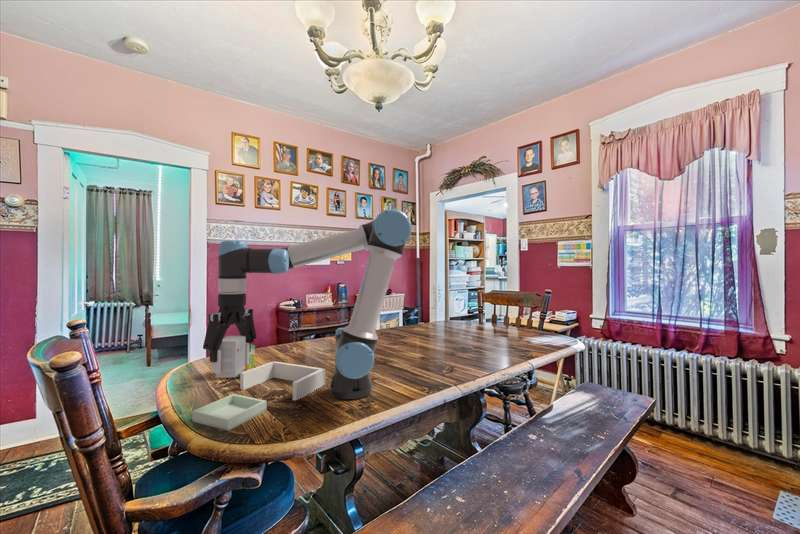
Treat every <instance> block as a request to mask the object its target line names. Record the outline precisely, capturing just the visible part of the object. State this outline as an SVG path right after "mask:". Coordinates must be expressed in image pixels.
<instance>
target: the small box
mask: <svg viewBox="0 0 800 534" xmlns="http://www.w3.org/2000/svg"><path fill="white" fill-rule="evenodd" d="M218 350H221V373H220V374H216V373H215V378H218V379H219V378H237V377H236V376H237V375H238V374H239V373H241V372H242V371H243V370H244V369H245V358H246V336H241V335H227V336H224V338H223V340H222V342H221V345H220V347H219V349H218Z"/></svg>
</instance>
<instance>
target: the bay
mask: <svg viewBox="0 0 800 534" xmlns="http://www.w3.org/2000/svg"><path fill="white" fill-rule="evenodd" d="M273 378H276V379H280V380H286V381H292V401H294V400H295V401H294V402H297V401H299V400H300V398H301V399H302V398H304V397H306V396H308V395H309V393H310V394H312V393H313V392H315V391H317V390H318V388H319V389H320V388H322V387H324V386H326V368H321V367H314V366H308V365H301V364H294V363H290V362H289V363H288V362H280V361H275V360H274V361H270V362H267V363H265V364H262V365H259V366H256V367H255V368H253V369H250V370H247V371H244V372H242V373H240V378H239V380H240V381H239V386H240V387H239V390H240V389H241V391H245V390H248V389H250V388H252V387H254V385H255V386H257V385H259V384H261V383H264V382H266V381H268V380H271V379H273ZM323 385H324V386H323ZM316 389H317V390H316ZM314 390H315V391H314ZM307 394H308V395H307ZM298 399H299V400H298ZM296 400H297V401H296Z"/></svg>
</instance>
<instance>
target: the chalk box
mask: <svg viewBox="0 0 800 534" xmlns="http://www.w3.org/2000/svg"><path fill="white" fill-rule="evenodd" d="M255 361H256V345H255V344H251V351H250V352H249V364H245V369H244V370H243V371H242V372H244V371H247V370H250V369H253V368H256V367H255V366H256V362H255ZM242 372H241V373H242ZM235 378H238V379H240V373H239V374H238V375H237V376H236V377H235Z"/></svg>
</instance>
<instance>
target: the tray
mask: <svg viewBox="0 0 800 534" xmlns="http://www.w3.org/2000/svg"><path fill="white" fill-rule="evenodd" d="M267 402H268V401H267V400H264V399H260V398H255V397H250V396H246V395H242V394H241V395H240V394H236V393H232V394H230V395H227V396H225V397H222V398H220V399H217V400H215V401H212V402H210V403H208V404H205V405H203V406H201V407H198V408H196V409H193V410H192V411H191V412H192V413H191V414H192V415H191V418H192V419H191V420H192V421H191V422H192V423H197V424H199V425H200V424H201V425H205V426H207V427H213V428H215V429H219V430H222V429H223V431H227V432H229V431H230V430H232V429H234V428H237V427H238V426H240V425H242V424H244V423H246V422H247V421H248V422H249V421H250V420H252V419H254V418H255V417H257V416H259V415H261V414H263V413H265V412H267V411H268V410H267V409H268V408H267V405H268V403H267Z"/></svg>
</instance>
